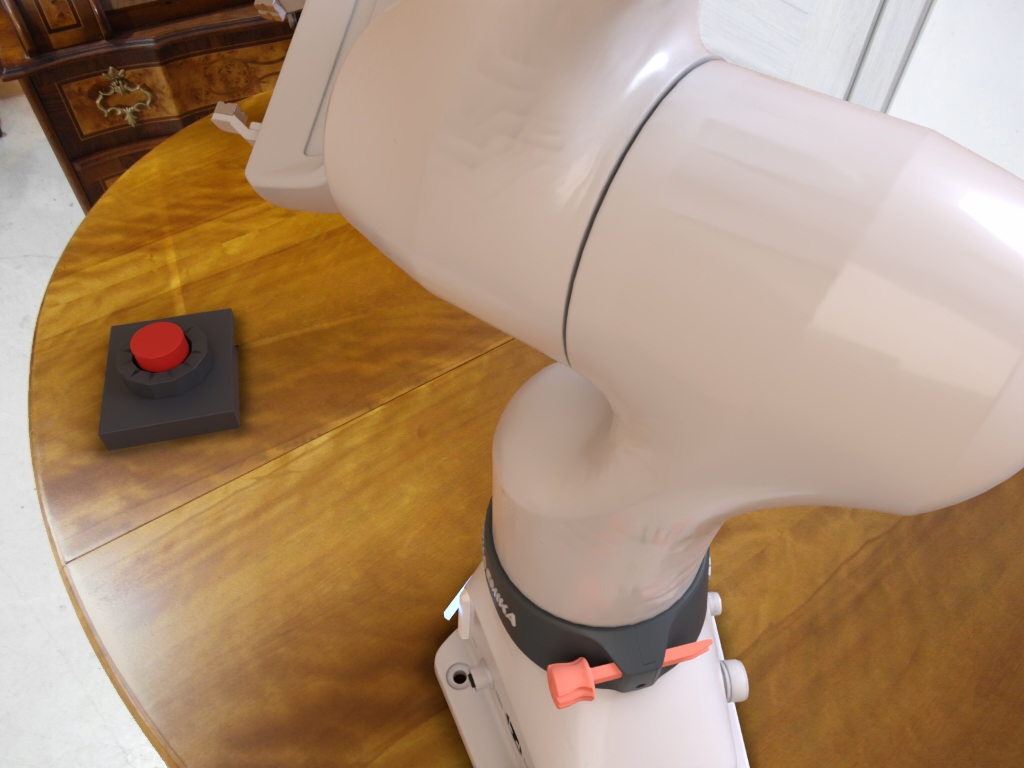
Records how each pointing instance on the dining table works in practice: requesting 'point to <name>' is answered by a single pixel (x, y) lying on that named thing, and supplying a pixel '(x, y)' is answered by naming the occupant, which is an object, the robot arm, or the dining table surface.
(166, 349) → the button
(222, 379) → the button box
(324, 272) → the dining table surface
